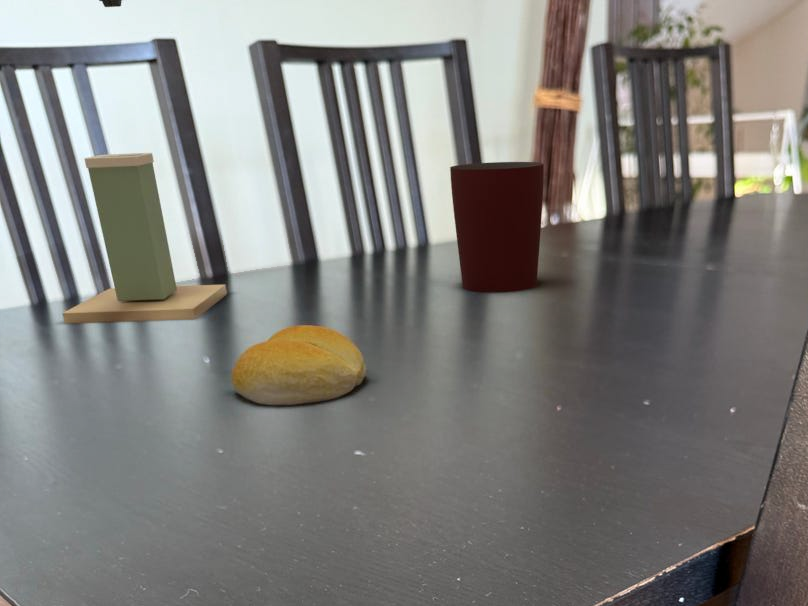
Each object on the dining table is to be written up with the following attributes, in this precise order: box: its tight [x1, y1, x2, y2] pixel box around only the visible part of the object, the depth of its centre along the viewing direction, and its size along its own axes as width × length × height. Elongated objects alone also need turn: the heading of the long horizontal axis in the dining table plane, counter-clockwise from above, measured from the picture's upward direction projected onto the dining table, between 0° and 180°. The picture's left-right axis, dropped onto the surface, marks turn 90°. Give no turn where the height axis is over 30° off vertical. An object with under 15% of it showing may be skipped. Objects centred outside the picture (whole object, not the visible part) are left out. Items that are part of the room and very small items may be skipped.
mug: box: [449, 161, 545, 294], centre depth 93 cm, size 12×9×11 cm
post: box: [84, 152, 177, 301], centre depth 87 cm, size 5×5×12 cm
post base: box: [62, 284, 228, 325], centre depth 90 cm, size 12×12×1 cm
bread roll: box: [231, 324, 367, 406], centre depth 63 cm, size 8×9×4 cm
